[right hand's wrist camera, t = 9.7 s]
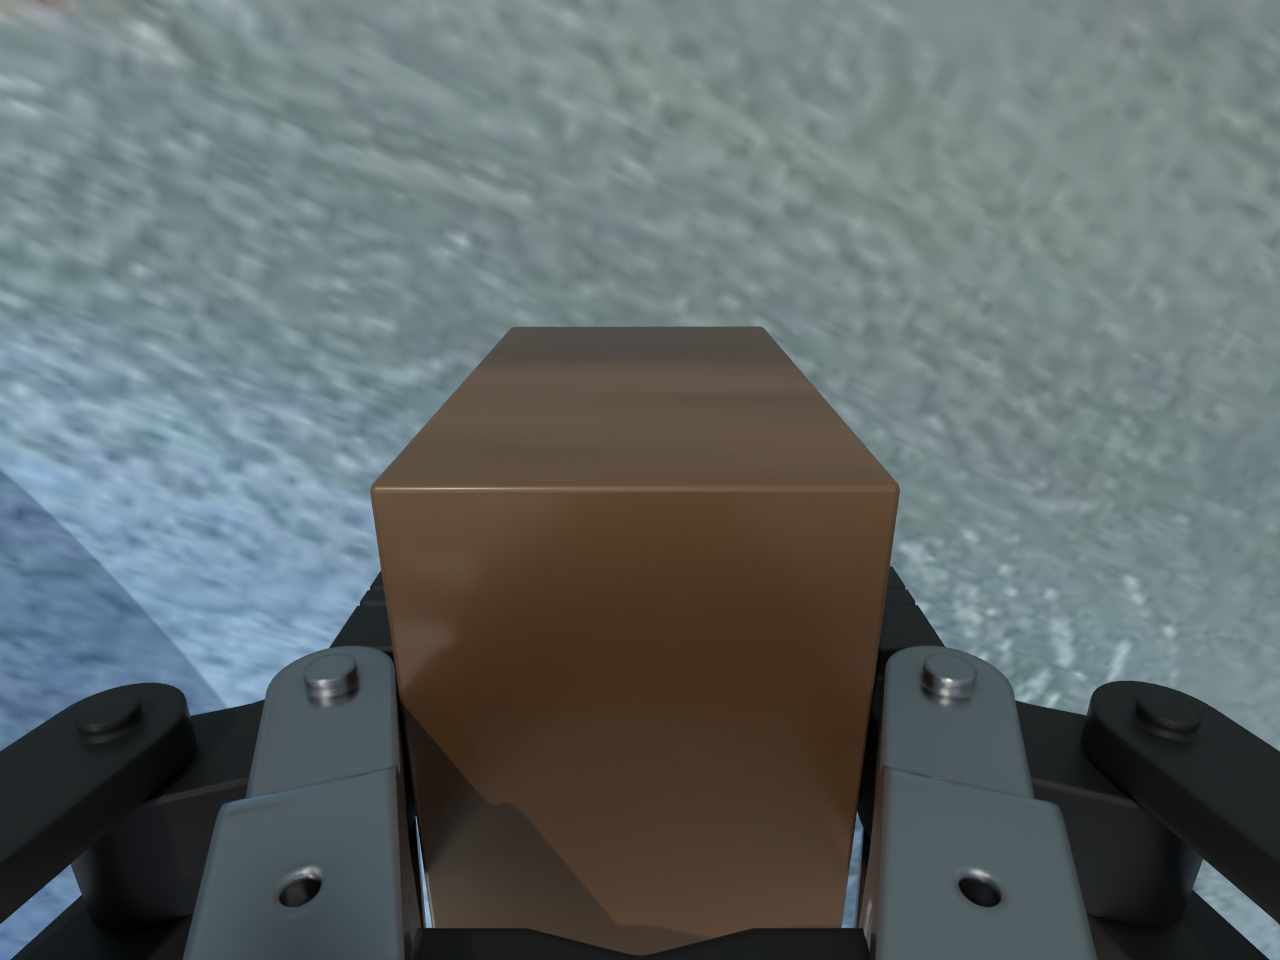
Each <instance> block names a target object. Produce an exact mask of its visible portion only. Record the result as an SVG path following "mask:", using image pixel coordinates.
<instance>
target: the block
mask: <svg viewBox="0 0 1280 960" xmlns="http://www.w3.org/2000/svg"><path fill="white" fill-rule="evenodd" d="M370 493H371V500H372V507H373V514H374V521H375V528H376V535H377V542H378V549H379V556H380V564H381V571H382V578H383V585H384V592H385V599H386V606H387V613H388V620H389V627H390V634H391V641H392V648H393V655H394V662H395V669H396V676H397V683H398V690H399V697H400V704H401V711H402V718H403V725H404V732H405V739H406V746H407V754H408V761H409V768H410V775H411V782H412V789H413V796H414V803H415V810H416V817H417V824H418V831H419V838H420V845H421V852H422V859H423V866H424V873H425V880H426V887H427V894H428V901H429V908H430V915H431V922H432V928H528V929H532V930H536V931H540V932H544V933H548V934H552V935H556V936H560V937H564V938H568V939H571V940H575V941H579V942H583V943H587V944H591V945H595V946H599V947H603V948H607V949H611V950H615V951H619V952H622V953H626V954H632V955H648V954H654V953H658V952H661V951H665V950H669V949H673V948H677V947H681V946H685V945H689V944H693V943H697V942H701V941H705V940H709V939H712V938H716V937H720V936H724V935H728V934H732V933H736V932H740V931H744V930H748V929H752V928H841V927H842V919H843V912H844V904H845V897H846V889H847V882H848V874H849V867H850V859H851V852H852V844H853V837H854V829H855V822H856V814H857V807H858V799H859V792H860V784H861V777H862V770H863V762H864V755H865V747H866V740H867V732H868V725H869V717H870V710H871V702H872V695H873V687H874V680H875V672H876V665H877V657H878V650H879V642H880V635H881V627H882V620H883V612H884V605H885V597H886V590H887V582H888V575H889V567H890V560H891V553H892V545H893V538H894V530H895V523H896V515H897V508H898V500H899V493H900V489H899V485H898V484H897V483H896V481H895V480H894V479H893V478H892V477H891V476H890V474H889V473H888V472H887V471H886V470H885V469H884V467H883V466H882V465H881V464H880V463H879V462H878V460H877V459H876V458H875V457H874V456H873V455H872V453H871V452H870V451H869V450H868V449H867V448H866V446H865V445H864V444H863V443H862V442H861V441H860V440H859V438H858V437H857V436H856V435H855V434H854V433H853V431H852V430H851V429H850V428H849V427H848V426H847V424H846V423H845V422H844V421H843V420H842V419H841V417H840V416H839V415H838V414H837V413H836V412H835V410H834V409H833V408H832V407H831V406H830V405H829V403H828V402H827V401H826V400H825V399H824V398H823V397H822V395H821V394H820V393H819V392H818V391H817V390H816V388H815V387H814V386H813V385H812V384H811V383H810V381H809V380H808V379H807V378H806V377H805V376H804V374H803V373H802V372H801V371H800V370H799V369H798V367H797V366H796V365H795V364H794V363H793V362H792V360H791V359H790V358H789V357H788V356H787V355H786V354H785V352H784V351H783V350H782V349H781V348H780V347H779V345H778V344H777V343H776V342H775V341H774V340H773V338H772V337H771V336H770V335H769V334H768V333H767V331H766V330H765V329H764V328H763V327H513V328H511V329H510V330H509V331H508V332H507V334H506V335H505V336H504V337H503V338H502V339H501V340H500V341H499V343H498V344H497V345H496V346H495V347H494V348H493V349H492V350H491V352H490V353H489V354H488V355H487V356H486V357H485V358H484V359H483V361H482V362H481V363H480V364H479V365H478V366H477V367H476V368H475V370H474V371H473V372H472V373H471V374H470V375H469V376H468V377H467V379H466V380H465V381H464V382H463V383H462V384H461V385H460V387H459V388H458V389H457V390H456V391H455V392H454V393H453V394H452V396H451V397H450V398H449V399H448V400H447V401H446V402H445V403H444V405H443V406H442V407H441V408H440V409H439V410H438V411H437V412H436V414H435V415H434V416H433V417H432V418H431V419H430V420H429V421H428V423H427V424H426V425H425V426H424V427H423V428H422V429H421V430H420V432H419V433H418V434H417V435H416V436H415V437H414V438H413V439H412V441H411V442H410V443H409V444H408V445H407V446H406V447H405V448H404V450H403V451H402V452H401V453H400V454H399V455H398V456H397V458H396V459H395V460H394V461H393V462H392V463H391V464H390V465H389V467H388V468H387V469H386V470H385V471H384V472H383V473H382V474H381V476H380V477H379V478H378V479H377V480H376V481H375V482H374V483H373V485H372V486H371V490H370Z"/></svg>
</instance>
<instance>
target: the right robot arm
mask: <svg viewBox="0 0 1280 960" xmlns="http://www.w3.org/2000/svg"><path fill="white" fill-rule="evenodd" d="M857 812H858V815H859V818H860V820H861V823H862V826H863V831H862V838H861V845H860V858H859V871H858V884H857V897H856V910H855V923H854V928H752V929H748V930H744V931H740V932H736V933H732V934H728V935H724V936H720V937H716V938H712V939H709V940H705V941H701V942H697V943H693V944H689V945H685V946H681V947H677V948H673V949H669V950H665V951H661V952H658V953H654V954H648V955H632V954H626V953H622V952H619V951H615V950H611V949H607V948H603V947H599V946H595V945H591V944H587V943H583V942H579V941H575V940H571V939H568V938H564V937H560V936H556V935H552V934H548V933H544V932H540V931H536V930H532V929H528V928H426V923H425V910H424V897H423V884H422V871H421V858H420V845H419V838H418V831H417V824H416V810H415V803H414V796H413V789H412V782H411V775H410V768H409V761H408V754H407V746H406V739H405V732H404V725H403V718H402V711H401V704H400V697H399V690H398V683H397V676H396V669H395V662H394V655H393V648H392V641H391V634H390V627H389V620H388V613H387V606H386V599H385V592H384V585H383V578H382V571H380V573H379V574H378V576H377V577H376V579H375V580H374V582H373V583H372V585H371V586H370V590H368V591H367V592H366V594H365V595H364V597H363V598H362V600H361V601H360V606H357V607H356V609H355V610H354V612H353V613H352V615H351V616H350V618H349V619H348V621H347V622H346V624H345V625H344V627H343V628H342V630H341V631H340V633H339V634H338V636H337V637H336V639H335V640H334V642H333V643H332V645H331V646H330V648H329V649H324V650H321V651H318V652H314V653H312V654H309V655H306V656H304V657H302V658H300V659H298V660H296V661H294V662H292V663H291V664H289V665H288V666H286V667H285V668H284V669H282V670H281V671H280V672H279V673H278V674H277V675H276V676H275V677H274V678H273V679H272V681H271V683H270V684H269V686H268V689H267V692H266V697H265V700H261V701H258V702H255V703H252V704H247V705H243V706H239V707H234V708H229V709H224V710H219V711H213V712H208V713H203V714H198V715H193V716H190V713H189V709H188V706H187V702H186V698H185V696H184V694H183V693H182V692H181V691H180V690H179V689H177V688H175V687H174V686H170V685H167V684H161V683H139V684H131V685H126V686H121V687H117V688H113V689H109V690H106V691H103V692H100V693H97V694H95V695H92V696H90V697H87V698H85V699H83V700H81V701H79V702H77V703H75V704H73V705H71V706H69V707H68V708H66V709H64V710H63V711H61V712H60V713H58V714H57V715H55V716H53V717H52V718H50V719H49V720H47V721H46V722H44V723H43V724H41V725H40V726H38V727H37V728H35V729H34V730H32V731H31V732H29V733H28V734H26V735H25V736H23V737H22V738H20V739H19V740H17V741H15V742H14V743H12V744H11V745H9V746H8V747H6V748H5V749H3V750H2V751H0V924H1V923H2V922H3V921H4V920H6V919H7V918H8V917H9V916H10V915H11V914H13V913H14V912H15V911H16V910H17V909H18V908H20V907H21V906H22V905H23V904H24V903H25V902H27V901H28V900H29V899H30V898H31V897H32V896H34V895H35V894H36V893H37V892H38V891H39V890H41V889H42V888H43V887H44V886H45V885H46V884H48V883H49V882H50V881H51V880H52V879H53V878H55V877H56V876H57V875H58V874H59V873H60V872H62V871H63V870H64V869H65V868H66V867H67V866H69V865H70V864H71V866H72V869H73V872H74V875H75V877H76V880H77V883H78V885H79V888H80V891H81V894H82V895H81V896H80V897H79V898H78V899H77V900H76V901H75V902H73V903H72V904H71V905H70V906H69V907H68V908H67V909H66V910H65V911H64V912H62V913H61V914H60V915H59V916H58V917H57V918H56V919H55V920H54V921H53V922H52V923H50V924H49V925H48V926H47V927H46V928H45V929H44V930H43V931H42V932H41V933H39V934H38V935H37V936H36V937H35V938H34V939H33V940H32V941H31V942H30V943H28V944H27V945H26V946H25V947H24V948H23V949H22V950H21V951H20V952H19V953H17V954H16V955H15V956H14V957H13V958H12V959H11V960H1269V959H1268V958H1267V957H1266V956H1265V955H1264V954H1263V953H1261V952H1260V951H1259V950H1258V949H1257V948H1256V947H1255V946H1254V945H1253V944H1252V943H1250V942H1249V941H1248V940H1247V939H1246V938H1245V937H1244V936H1243V935H1242V934H1241V933H1239V932H1238V931H1237V930H1236V929H1235V928H1234V927H1233V926H1232V925H1231V924H1230V923H1228V922H1227V921H1226V920H1225V919H1224V918H1223V917H1222V916H1221V915H1220V914H1219V913H1217V912H1216V911H1215V910H1214V909H1213V908H1212V907H1211V906H1210V905H1209V904H1208V903H1207V902H1205V901H1204V900H1203V899H1202V898H1201V897H1200V896H1199V895H1198V894H1197V893H1196V892H1194V891H1193V890H1192V888H1193V885H1194V883H1195V880H1196V877H1197V874H1198V872H1199V869H1200V866H1201V863H1202V861H1203V859H1204V860H1206V861H1207V862H1208V863H1209V864H1210V865H1211V866H1213V867H1214V868H1215V869H1216V870H1217V871H1218V872H1220V873H1221V874H1222V875H1223V876H1224V877H1225V878H1227V879H1228V880H1229V881H1230V882H1231V883H1232V884H1234V885H1235V886H1236V887H1237V888H1238V889H1239V890H1241V891H1242V892H1243V893H1244V894H1245V895H1246V896H1248V897H1249V898H1250V899H1251V900H1252V901H1253V902H1255V903H1256V904H1257V905H1258V906H1259V907H1260V908H1262V909H1263V910H1264V911H1265V912H1266V913H1267V914H1269V915H1270V916H1271V917H1272V918H1273V919H1274V920H1275V921H1277V922H1278V923H1279V924H1280V751H1278V750H1277V749H1275V748H1274V747H1272V746H1271V745H1269V744H1268V743H1266V742H1264V741H1263V740H1261V739H1260V738H1258V737H1257V736H1255V735H1254V734H1252V733H1251V732H1249V731H1248V730H1246V729H1245V728H1243V727H1242V726H1240V725H1239V724H1237V723H1236V722H1234V721H1233V720H1231V719H1230V718H1228V717H1226V716H1225V715H1223V714H1222V713H1220V712H1219V711H1217V710H1216V709H1214V708H1213V707H1211V706H1209V705H1208V704H1206V703H1204V702H1202V701H1200V700H1198V699H1196V698H1194V697H1192V696H1190V695H1187V694H1185V693H1182V692H1180V691H1177V690H1174V689H1171V688H1168V687H1164V686H1160V685H1156V684H1151V683H1146V682H1138V681H1116V682H1110V683H1107V684H1104V685H1102V686H1100V687H1098V688H1097V689H1096V690H1095V691H1094V692H1093V695H1092V697H1091V701H1090V704H1089V708H1088V712H1087V716H1086V715H1081V714H1076V713H1071V712H1066V711H1061V710H1056V709H1051V708H1046V707H1041V706H1036V705H1031V704H1027V703H1023V702H1019V701H1016V700H1015V697H1014V692H1013V689H1012V686H1011V684H1010V683H1009V681H1008V679H1007V678H1006V677H1005V676H1004V675H1003V674H1002V673H1001V672H1000V671H999V670H998V669H996V668H995V667H994V666H992V665H991V664H989V663H988V662H986V661H984V660H982V659H980V658H978V657H976V656H974V655H971V654H968V653H966V652H962V651H959V650H956V649H951V648H946V647H945V646H944V644H943V643H942V641H941V640H940V638H939V637H938V635H937V634H936V632H935V631H934V629H933V628H932V626H931V625H930V623H929V622H928V620H927V619H926V617H925V615H924V614H923V612H922V611H921V609H920V608H919V606H918V605H915V600H914V599H913V597H912V596H911V594H910V593H909V591H908V590H905V585H904V584H903V582H902V581H901V579H900V578H899V576H898V574H897V573H896V571H895V570H894V568H893V567H891V566H890V567H889V575H888V582H887V590H886V597H885V605H884V612H883V620H882V627H881V635H880V642H879V650H878V657H877V665H876V672H875V680H874V687H873V695H872V702H871V710H870V717H869V725H868V732H867V740H866V747H865V755H864V762H863V770H862V777H861V784H860V792H859V799H858V807H857Z"/></svg>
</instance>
